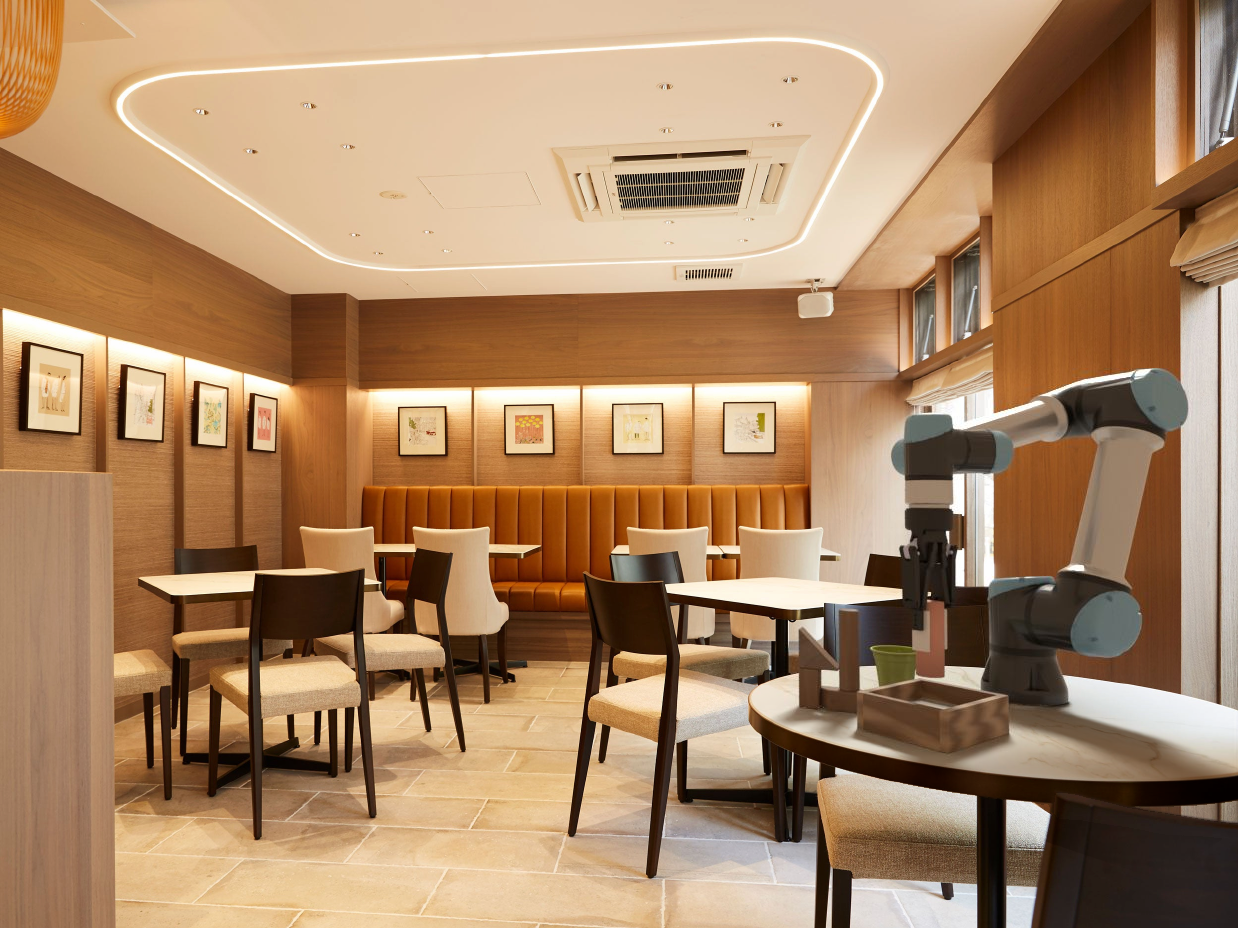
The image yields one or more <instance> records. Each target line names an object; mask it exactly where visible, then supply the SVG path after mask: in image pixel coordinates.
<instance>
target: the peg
mask: <svg viewBox="0 0 1238 928" xmlns="http://www.w3.org/2000/svg"><path fill="white" fill-rule="evenodd" d="M925 611H930V652H923V651H917V650H916V671H915V676H918V677H920V678H921V677H922V678H930V679H943V678H945V676H946V675H945V674H946V673H945V672H946V671H945V665H946V664H945V662H946V660H945V654H946V653H945V650H946V649H944V602H942V601H935V600H932V599H927V607H926V610H925Z"/></svg>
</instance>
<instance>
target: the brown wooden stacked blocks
mask: <svg viewBox="0 0 1238 928" xmlns="http://www.w3.org/2000/svg"><path fill="white" fill-rule="evenodd" d="M797 632H798V706H799V707H800V708H801V707H806V708H805V709H810V708H816V709H815V710H819V709H820V707H821V708H823V707H824V708H823V709H825V708H826V710H829V711H832V710H833V711H835V712H841V711H842V713H852V714H853V713H854V714H857V692H858V691H862V690H863V689H861V677H860V676H861V675H860V674H861V673H860V672H861V671H860V670H861V669H860V668H861V667H860V660H861V659H860V657H861V656H860V611H859V610H858V609H855V608H840V609H838V662H837V661H836V660H835V659H834V658H833V657H832V656H831V655H830V654H829V653H828V651H827V650H825V648H824V647H822V645H821V644H820V643H819V642H818V640H817V639H815V638H814V637H813V635H811V633H810V632H808V631H807V629H806V628H805V627H804V626H801V627H800V628H799V629H798V631H797ZM823 670H824V671H834V672H838V673H839V674H838V677H839V679H838V680H839V681H838V682H839V683H838V684H839V685H838V687H837V686H828V685H822V671H823ZM818 708H819V709H818ZM833 711H832V712H833Z"/></svg>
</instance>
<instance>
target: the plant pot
mask: <svg viewBox="0 0 1238 928" xmlns="http://www.w3.org/2000/svg"><path fill="white" fill-rule="evenodd" d="M869 649H870V651H871V652H872V655H873V659H874V662H875V667H876V674H877V675H876V676H877V681H878V687H881V686H885V685H890V684H895V683H899V682H904V681H909V680H913V679H916V650H912V647H911V646H903V645H902V646H901V645H874V646H871V647H870V648H869Z"/></svg>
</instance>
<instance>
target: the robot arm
mask: <svg viewBox="0 0 1238 928" xmlns="http://www.w3.org/2000/svg"><path fill="white" fill-rule="evenodd" d="M1188 401H1189V400H1188V397H1187V393H1186V390H1185V389H1184V387H1183V385H1182V383H1181V382H1180V380H1179V379H1178V378H1177V377H1176V376H1175V375H1174V374H1173V373H1172V372H1171V371H1169V370H1166V369H1164V368H1159V367H1158V368H1157V367H1155V368H1145V369H1144V368H1143V369H1141V368H1137V369H1133V371H1128V372H1121V373H1116V374H1110V375H1109V374H1108V375H1102V376H1098V377H1090V378H1085V379H1082V380H1079V381H1075V382H1073V383H1071V384H1068V385H1065V386H1062V387H1059V388H1057V389H1054V390H1052V391H1049V392H1046V393H1043V394H1040V395H1036V396H1034V397H1032V399H1031V400H1030V401H1029V402H1028V403H1027V404H1024V405H1020V406H1016V407H1014V408H1011V409H1010V408H1009V409H1007V410H1002V411H1000V412H996V413H992V414H989V415H986V416H983V417H980V418H979V417H978V418H975V419H971V420H968V421H965V422H963V423H962V422H961V423H959V424H955V425H954V424H953V418H952V416H951V415H950V414H949V413H948V414H947V413H940V412H925V413H923V412H922V413H917V414H912V415H910V416H908V417H906V419H905V421H904V427H903V428H904V433H903V438H900V439H898V440H897V441H896V442H895V443H894V445H893V446H892V448H891V453H890V458H891V464H892V466H893V468H894V470H895V471H896V472H897V473H898V474H900V475H901V476H904V503H905V504H906V505H908V507H907V508H905V509H904V528H905V530H907V531H910V532H911V535H910V538H909V543H908V544H907V545H902V544H901V545H900V546H899V548H898V550H899V551H898V552H899V555H900V560H901V597H902V598H901V600H902V605H903V606H904V608H905V609H906V610H911V629H912V630H911V637H912V638H911V639H912V641H911V642H912V644H911V646H912V650H917V651H923V652H930V611H925V610H926V607H927V600H928V596H929V589H930V596H931V600H935V601H942V602H944V650H947V649H948V609H949V610H950V609H951V610H953V609H954V607H955V603H956V601H957V598H956V592H957V591H956V590H957V589H956V587H957V586H956V585H957V583H956V581H957V579H956V576H957V571H956V567H957V564H956V562H957V553H958V549H959V548H958V545H956V544H950V543H949V540H948V536H947V532H951V531H953V530H954V510H953V509H952V508H950V506H952V505H954V475H964V474H983V475H991V474H999V473H1002V472H1004V471H1006V470H1007V469H1008V468H1009V467H1010V466H1011V463H1012V462H1013V460H1014V452H1015V451H1014V449H1016V448H1020V447H1023V446H1026V445H1029V444H1032V443H1036V442H1038V441H1042V442H1046V443H1047V442H1048V443H1052V442H1057V441H1059V440H1063V439H1074V438H1092V439H1093V440H1094V442H1095V443H1096V444H1097V449H1096V452H1095V458H1094V461H1093V466H1092V468H1091V469H1092V470H1091V474H1090V477H1089V482H1088V485H1087V492H1086V495H1085V499H1084V503H1083V508H1082V513H1081V515H1080V519H1079V525H1078V529H1077V533H1076V536H1075V537H1076V538H1075V541H1074V545H1073V549H1072V552H1071V558H1070V561H1069V562H1070V563H1069V564H1068V565H1067V566H1065V567H1063V568H1062V569H1059V570H1058V572H1057V576H1056V579H1055V578H1054V577H1053V576H1051V575H1049V576H1048V575H1046V576H1044V575H1042V576H1023V577H1003V578H1000V577H999V578H994V579H992V580H991V581H990V582H989V584H988V597H987V609H988V610H987V614H988V615H987V616H988V617H987V618H988V636H989V637H988V638H989V640H988V641H989V654H988V655H989V656H988V658H987V661H986V664H985V667H984V670H983V672H982V674H981V675H982V676H981V679H980V690H982V691H988V692H993V693H998V694H1003V695H1008V697H1009V703H1010V704H1011V703H1012V704H1016V705H1017V704H1018V705H1020V704H1021V705H1026V706H1027V705H1028V706H1045V707H1046V706H1059V705H1065V704H1067V703H1069V701H1070V699H1069V687H1068V686H1067V683H1066V679H1065V678H1064V675H1063V671H1062V669H1061V667H1060V664H1059V660H1058V657H1057V655H1058V651H1057V650H1059V651H1060V650H1061V651H1064V652H1065V651H1066V652H1072V653H1076V654H1080V655H1083V656H1085V657H1098V658H1099V657H1100V658H1116V657H1119V656H1121V655H1122V654H1123V653H1125V652H1128V651H1129V650H1130V649H1131V647H1132V646H1133V645H1135V643H1136V641H1137V640H1138V637H1139V636H1140V632H1141V630H1142V624H1143V615H1142V613H1141V612H1140V610H1141V607H1140V604H1139V603H1138V601H1137V600H1136V599H1135V598H1134V597H1133V596H1132V591H1133V590H1132V589H1133V587H1132V586H1131V585H1130V583H1129V581H1127V579H1126V578H1125V575H1126V570H1127V566H1128V561H1129V557H1130V553H1131V548H1132V544H1133V540H1134V535H1135V531H1136V526H1137V523H1138V522H1137V521H1138V519H1139V518H1138V517H1139V513H1140V509H1141V503H1142V500H1143V495H1144V491H1145V488H1146V482H1147V478H1148V473H1149V468H1150V465H1151V460H1152V455H1153V453H1154V452H1157V451H1158V450H1161V449H1162V448H1164V446H1165V443H1166V440H1167V439H1166V438H1167V434H1168V432H1173V431H1175V430H1178V429H1180V428H1181V427H1182V426H1183V425H1184V424H1185V423H1186V420H1187V419H1188V415H1189V402H1188Z"/></svg>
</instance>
